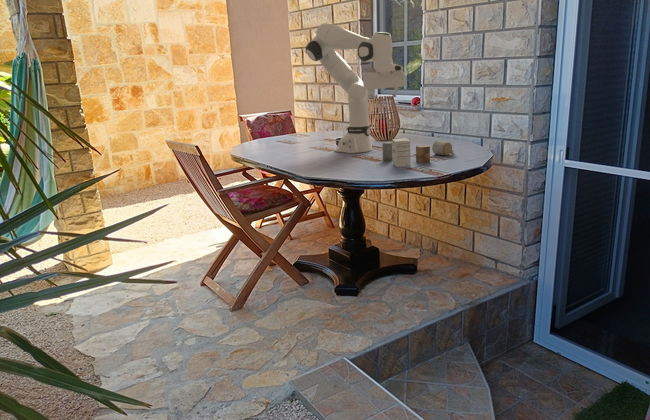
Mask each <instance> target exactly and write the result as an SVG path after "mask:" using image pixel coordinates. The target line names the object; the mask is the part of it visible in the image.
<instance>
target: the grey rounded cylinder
mask: <svg viewBox="0 0 650 420" xmlns="http://www.w3.org/2000/svg"><path fill="white" fill-rule="evenodd" d="M382 161H383V162H393V146H392V142H390V141H387V142H382Z"/></svg>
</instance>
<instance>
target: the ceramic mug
mask: <svg viewBox="0 0 650 420" xmlns="http://www.w3.org/2000/svg"><path fill="white" fill-rule="evenodd" d="M431 149H432V150H431V151H432V152H433V154H434V155H439V156H446V157H447V156H449V155H451V154H454V149H453V145H452V143H450V142H449V141H446V140H445V141H444V140H441V139H436V140H434V142H433V143H432V147H431Z"/></svg>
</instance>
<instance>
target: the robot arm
mask: <svg viewBox="0 0 650 420" xmlns="http://www.w3.org/2000/svg"><path fill="white" fill-rule="evenodd" d="M393 48H394V47H393V39H392V36H391V33H389V32H386V31H377V32H374V33H373V35H372V36H371V37H366V36H363V35H361V34H358V33H355V32H353V31H350V30H348V29H346V28H345V27H342V26H339V25H337V24H333V23H326V22H325V23H321V24H320V25H318V26H317V28H316V32H315V36H314V37H312V39H311V40H310V41H309V42H308V43H307V44H306V46H305V54H306V55H307V56H308V58H309V59H310V60H312V61H314V62H318V61H319V62H320V65H322V67H323V68H324V69H325V71H326V72H327V73H328V75H330V76H331V78H332V79H333V80H334V81H335V83H337V85H339V86H340V87H341V89H342V90H343V91H344V92H346V94H347V101H348V102H347V103H348V114H349V115H348V117H349V118H348V119H349V126H347V127H346V129H345V131H347V133H346V134H345V135H344V136H342V137H341V138H340V139H339V140H338V143H337V144H338V146H337V147H336V148H334V152H336V153H337V152H338V153H349V154H355V153H356V154H358V153H365V152H366V153H367V152H371V151H374V150H373V146H372V141H371V126H370V117H369V116H370V115H369V97H368V95H369V90H370V93H371V94H372V100H377V99H378V94H376V93H375V92H376V90H381V89H392V88H393V90H394V91H393V93H392V94H391V95H392V96H391V97H392V98H397V93H398V91H399V88H403V87H405V86H406V83H407V82H406V76H405V75H406V74H405V72H404V66H402V65H401V64H400V65H399V64H396V63H394V59H393V52H394V51H393ZM336 50H340V51H345V50H357V56H358V58H359V60H360V61H361V62H365V63H368V62H369V63H371V62H372V63H373V68H371V69H365V70H363V72H362V79H363V80H362V79H361V78H360V76H359V75H358V74H357V73H356V72H355V71H354V70H353V69H352V67H351V66H349V64H348V63H347V61H346V60H345V59H344V58H343V57H342V56H341V55H340V54H339V53H338V52H337V51H336Z"/></svg>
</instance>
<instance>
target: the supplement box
mask: <svg viewBox="0 0 650 420" xmlns="http://www.w3.org/2000/svg"><path fill="white" fill-rule="evenodd" d="M391 141H392V155H393V160H392V165H394V166H395V167H396V168H400V167H401V168H402V167H411V140H409V139H408V138H407V137H406V138H405V137H404V138H403V137H402V138H392V140H391Z"/></svg>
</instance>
